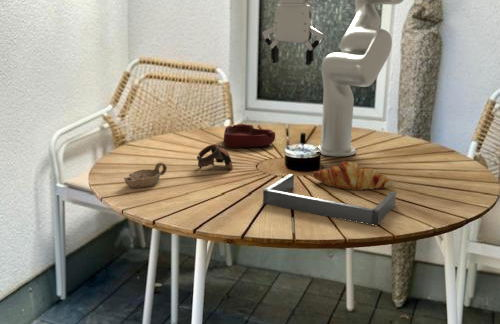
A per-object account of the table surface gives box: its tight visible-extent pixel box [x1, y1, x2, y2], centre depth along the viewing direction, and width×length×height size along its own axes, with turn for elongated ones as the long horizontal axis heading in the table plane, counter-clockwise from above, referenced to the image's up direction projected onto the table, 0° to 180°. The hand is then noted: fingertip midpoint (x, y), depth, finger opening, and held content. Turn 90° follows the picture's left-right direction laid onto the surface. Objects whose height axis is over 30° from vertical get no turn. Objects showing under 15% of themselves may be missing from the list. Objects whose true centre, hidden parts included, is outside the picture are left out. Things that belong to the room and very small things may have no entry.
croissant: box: [312, 160, 394, 191], centre depth 158 cm, size 21×10×8 cm, turn 78°
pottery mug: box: [196, 143, 234, 172], centre depth 171 cm, size 12×10×8 cm
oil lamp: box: [123, 161, 168, 189], centre depth 156 cm, size 13×8×5 cm, turn 134°
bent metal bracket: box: [262, 173, 397, 226], centre depth 143 cm, size 15×28×4 cm, turn 61°
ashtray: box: [223, 123, 276, 149], centre depth 198 cm, size 18×16×5 cm
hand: (291, 63), depth 164 cm, fingers open, 9 cm apart
